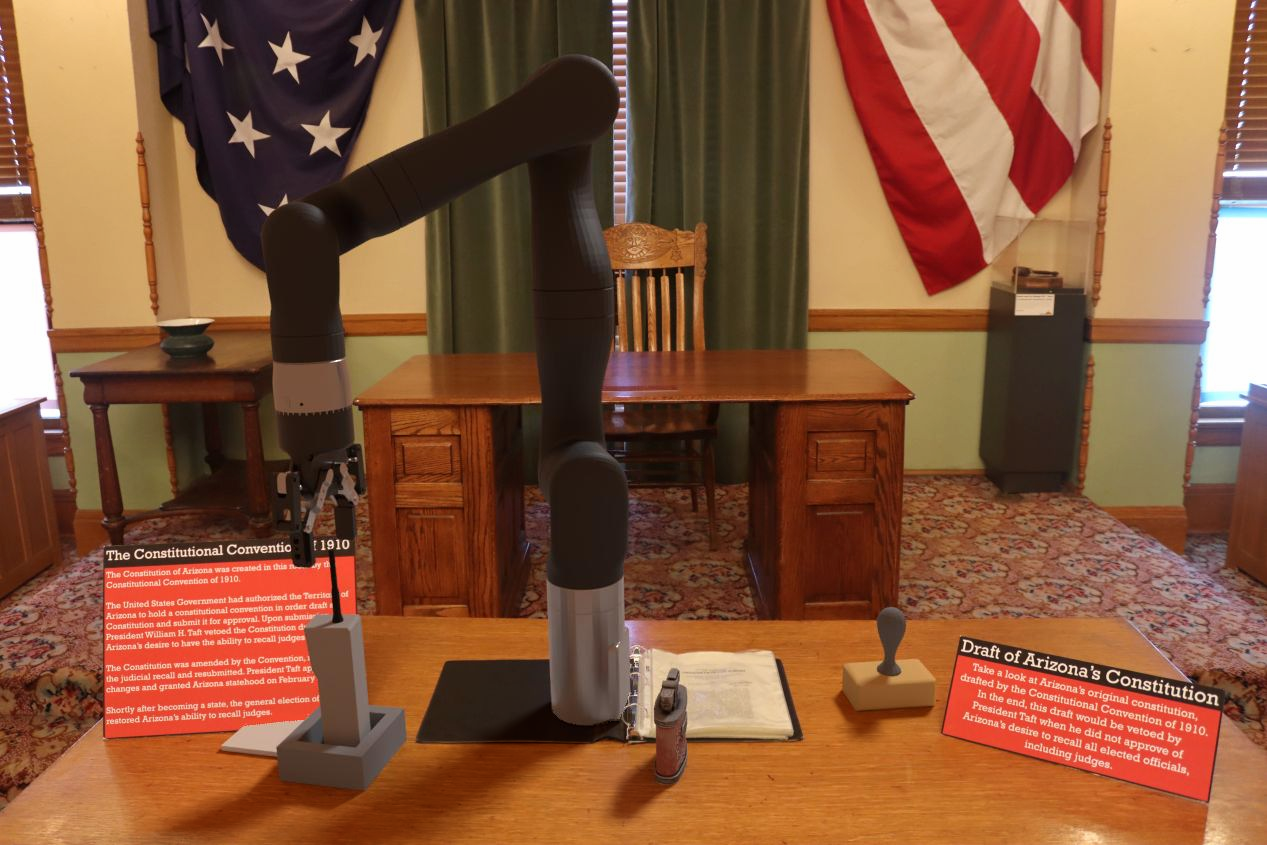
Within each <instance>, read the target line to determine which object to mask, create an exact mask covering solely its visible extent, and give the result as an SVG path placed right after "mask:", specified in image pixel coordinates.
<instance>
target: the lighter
mask: <svg viewBox="0 0 1267 845" xmlns="http://www.w3.org/2000/svg"><path fill="white" fill-rule="evenodd" d="M680 681H681V670H680V669H678V668H677V667H672V668H670V669H669V671H668V674H667V676H666V679H664V680H662V683H661V688H660V690H659V693H658V694H657V697H656V698H655V701H654V705H653V722H654V725H655V758H654V781H655V782H656V783H658V784H659V785H663V786H673V785H675V784H677V783H678V782H679V781H680V779H681V777H683V775H684V773H685V770H686V768H687V765H688V764H687V763H688V750H689V749H688V742H687V739H686V738H687V737H686V736H687V735H686V734H687V729H688V711H687V708H688V707H687V706H688V689H687V687H686V686H685V685H683V684H680Z"/></svg>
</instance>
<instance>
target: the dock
mask: <svg viewBox="0 0 1267 845" xmlns="http://www.w3.org/2000/svg"><path fill="white" fill-rule="evenodd" d="M405 714H406V712H405V708H404V707H395V706H394V707H393V706H385V705H377V704H376V705H374V704H369V715H370V727H371V731H370V732H369V733H368V735H367V736H366V737H365V738H364V739H363V740H362V741H361V742H360V743H359V745H358V746H357V747H356V748H354V747H345V746H337V745H328V744H324V738H323V728H322V718H321V708H320V705H319V706H317V708H316V709H314V710H313V711H312V713H310V714H309V715H310V716H308V717H307V718H306V719H305V720H304V721H303V722H302V723H301V724H300V725H299V726H298V727H297V728H296V729H295V730H294V731H293V732H292V733H291V734H290V735H289V736H287V737H286V738H285V739H284V740H283V741H282V742H281V743H280V744H279V745H278V746H277V747H276V750H277V757H276V758H277V766H278V775H279V781H281V782H288V783H295V784H296V783H297V784H304V785H305V784H306V785H314V786H321V787H322V786H323V787H328V788H330V787H331V788H339V789H347V790H352V791H353V790H354V791H365V792H366V790H367V789H368V788H369V786H370V785H371V784H372V782H373V781H374V780H375V779H376V778H377V776H378V775H379V774H380V773H381V772H382V771H383V769H384V768H385V767H386V766H387V765H388V763H389V762H390V760H391V759H393V757H394V756H395V755H396V754H397V752H398V751H399V750H400V748H402V746H403V745H404V743H406V741H407V738H408V737H407V726H406V715H405Z"/></svg>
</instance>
